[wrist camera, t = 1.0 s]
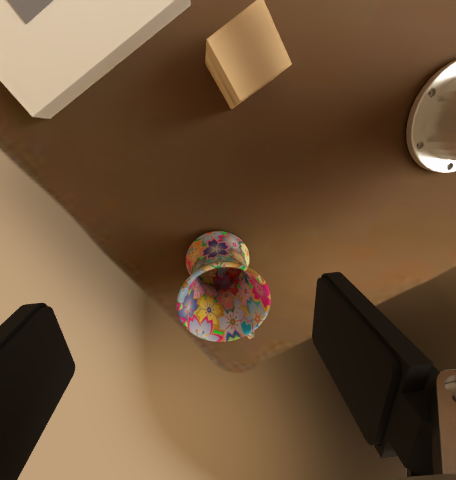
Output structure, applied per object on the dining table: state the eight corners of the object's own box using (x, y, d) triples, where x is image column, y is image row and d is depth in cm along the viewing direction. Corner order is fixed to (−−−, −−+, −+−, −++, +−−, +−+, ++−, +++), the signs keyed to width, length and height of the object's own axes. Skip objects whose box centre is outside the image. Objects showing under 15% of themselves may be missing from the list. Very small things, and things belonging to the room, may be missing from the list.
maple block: (246, 32, 25) (261, -4, 19) (270, 81, 27) (291, 64, 20) (205, 63, 26) (206, 39, 19) (231, 109, 28) (240, 101, 21)
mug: (169, 247, 33) (156, 293, 23) (231, 212, 32) (245, 246, 22) (214, 309, 37) (219, 370, 28) (269, 281, 37) (295, 334, 27)
